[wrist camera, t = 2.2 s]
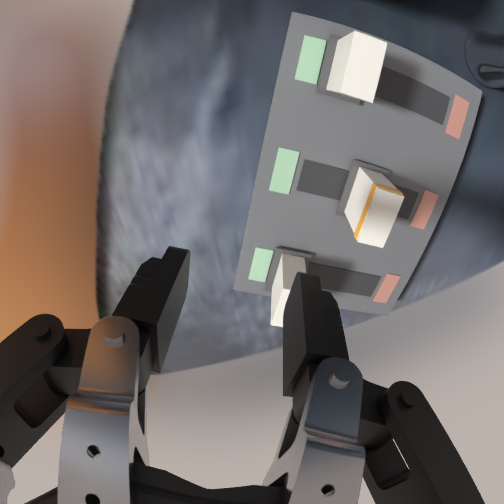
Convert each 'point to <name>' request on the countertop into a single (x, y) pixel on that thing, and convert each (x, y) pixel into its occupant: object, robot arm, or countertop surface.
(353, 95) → the breaker
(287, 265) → the breaker
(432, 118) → the breaker panel
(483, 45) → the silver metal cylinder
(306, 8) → the countertop surface
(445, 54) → the countertop surface
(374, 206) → the block
